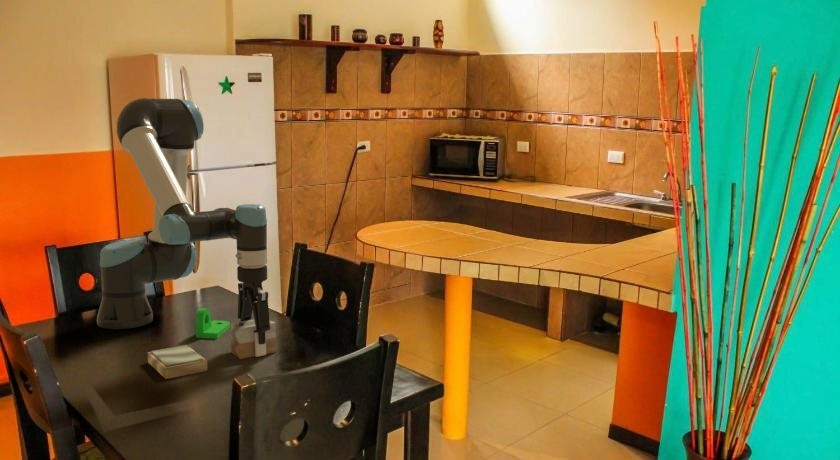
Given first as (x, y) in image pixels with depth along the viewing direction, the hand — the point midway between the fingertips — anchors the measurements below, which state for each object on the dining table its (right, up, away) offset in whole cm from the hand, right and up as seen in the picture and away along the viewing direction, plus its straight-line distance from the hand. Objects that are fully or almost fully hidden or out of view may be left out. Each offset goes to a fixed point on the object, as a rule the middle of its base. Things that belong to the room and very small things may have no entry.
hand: (254, 351), depth 193 cm
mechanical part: (-15, +2, +16) cm, 22 cm away
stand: (-16, -2, -12) cm, 20 cm away
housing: (0, 0, 0) cm, 0 cm away
